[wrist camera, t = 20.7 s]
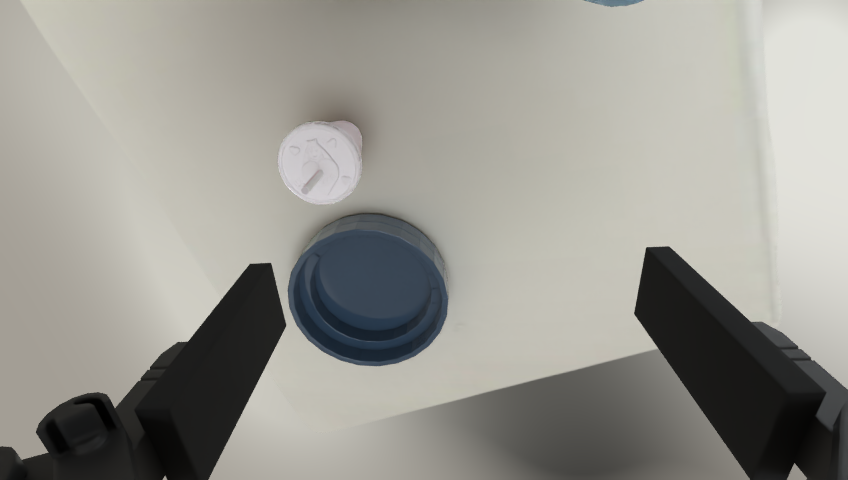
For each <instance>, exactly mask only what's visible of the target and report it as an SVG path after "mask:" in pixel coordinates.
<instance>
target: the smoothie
mask: <svg viewBox="0 0 848 480" xmlns="http://www.w3.org/2000/svg"><path fill="white" fill-rule="evenodd" d="M362 142H363V140H362V135H361V133H360V131H359V129H358V128H357V127H356V126H355V125H354V124H352V123H350V122H348V121H343V120H341V121H334V122H329V123H328V122H323V121H310V122H307V123H304V124H301V125H299V126H297V127H296V128H294V129H293V130H292V131H290V133H289V134H288V135H287V136H286V137H285V138H284V140H283V141H282V143H281V145H280V148H279V152H278V168H279V172H280V175H281V177H282V179H283V181H284V183H285V184H286V186H287V187H288V188H289V189H290V191H292V192H293V193H294V194H295V195H296V196H298V197H299V198H301V199H303V200H305V201H307V202H310V203H313V204H319V205H327V204H333V203H336V202H339V201H341V200H343V199H344V198H346V197H347V196H348V195H349V194H350V193H351V192H352V191H353V189H354V188H355V187H356V186H357V184H358V182H359V180H360V178H361V173H362V167H363V166H362V157H361V149H362Z"/></svg>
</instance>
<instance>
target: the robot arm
mask: <svg viewBox="0 0 848 480" xmlns="http://www.w3.org/2000/svg"><path fill="white" fill-rule="evenodd" d="M584 1H588V2H592V3H596V4H600V5H604V6H610V7H613V6H627V5H631V4H635V3H638V2H641V1H643V0H584ZM634 314H635V316H636V317H637V319H638V320H639V321H640V323H641V324H642V326H643V327H644V328H645V330H646V331H647V333H648V334H649V336H650V337H651V338H652V340H653V341H654V343H655V344H656V346H657V347H658V348H659V350H660V351H661V353H662V354H663V355H664V357H665V358H666V360H667V361H668V363H669V364H670V366H671V367H672V368H673V370H674V371H675V373H676V374H677V375H678V377H679V378H680V380H681V381H682V383H683V384H684V386H685V387H686V388H687V390H688V391H689V393H690V394H691V396H692V397H693V398H694V400H695V401H696V403H697V404H698V406H699V407H700V408H701V410H702V411H703V413H704V414H705V415H706V417H707V418H708V420H709V421H710V423H711V424H712V425H713V427H714V428H715V430H716V431H717V433H718V434H719V435H720V437H721V438H722V440H723V441H724V443H725V444H726V445H727V447H728V448H729V449H730V451H731V452H732V454H733V455H734V457H735V458H736V460H737V461H738V463H739V464H740V465H741V467H742V468H743V470H744V471H745V473H746V474H747V475H748V477H749V478H750V480H787V478H788V476H789V473H790V471H791V469H792V467H793V465H794V463H795V464H796V465H797V466H798V468H799V469H800V470H801V471H802V472H803V474H804V475H805V476H806V477H807V480H848V390H847V389H846V388H845V387H844V386H842V385H841V384H840V383H839V382H838V381H837V380H836V379H834V377H832V376H831V375H830V374H829V373H828V372H827V371H826V370H824V369H823V368H822V367H821V366H820V365H819V364H817V363H816V362H815V361H812V360H811V357H809V356H808V355H807V354H806V353H805V352H804V351H803V350H801V349H798V346H797V345H796V344H795V343H793V342H792V341H791V340H790V339H789V338H788V337H787V336H785V335H784V334H783V333H782V332H780V331H778V330H776V329H774V328H772V327H770V326H769V325H767V324H765V323H763V322H750V321H749V320H748V319H747V318H746V317H745V316H744V315H743V314H742V313H741V312H739V311H738V310H737V309H736V308H735V307H734V306H733V305H732V304H731V303H730V302H729V301H728V300H726V299H725V298H724V297H723V296H722V295H721V294H720V293H719V292H718V291H717V290H716V289H715V288H714V287H712V286H711V285H710V284H709V283H708V282H707V281H706V280H705V279H704V278H703V277H702V276H701V275H699V274H698V273H697V272H696V271H695V270H694V269H693V268H692V267H691V266H690V265H689V264H688V263H686V262H685V261H684V260H683V259H682V258H681V257H680V256H679V255H678V254H677V253H676V252H675V251H673V250H672V249H671V248H670V247H646V252H645V257H644V263H643V268H642V274H641V279H640V285H639V290H638V296H637V301H636V307H635V312H634ZM285 327H286V323H285V319H284V314H283V310H282V306H281V302H280V298H279V294H278V290H277V286H276V281H275V277H274V273H273V269H272V265H271V263H260V264H250V265H249V266H248V267H247V268H246V270H245V271H244V272H243V273H242V275H241V276H240V277H239V278H238V280H237V281H236V282H235V283H234V285H233V286H232V287H231V288H230V290H229V291H228V292H227V293H226V295H225V296H224V297H223V299H222V300H221V301H220V302H219V304H218V305H217V306H216V307H215V309H214V310H213V311H212V312H211V314H210V315H209V316H208V317H207V319H206V320H205V321H204V323H203V324H202V325H201V326H200V327H199V329H198V330H197V331H196V332H195V334H194V335H193V336H192V337H191V339H190V340H189V341H188V342H177V343H176V344H175V345H173V346H172V347H171V348H169V349H168V350H166V351H165V352H163V353H162V354H161V355H160V356H159V357H158V359H157V360H156V361H155V362H154V363H153V364H152V366H151V367H150V370H147V372H146V373H145V374H144V375H143V376H142V377H141V381H138V382H137V383H136V384H135V386H134V387H133V388H132V389H131V390H130V392H129V393H128V394H127V395H126V396H125V397H124V399H123V400H122V401H121V402H120V403H119V404H118V406H117V407H116V408H114V406H113V404H112V402H111V400H110V399H109V397H108V396H107V395H106V394H103V393H99V392H97V393H87V394H84V395H81V396H78V397H75V398H72V399H70V400H68V401H67V402H64V403H62V404H60V405H59V406H58V407H56V408H55V409H53V410H52V411H51V412H49V413H48V414H47V415H46V416H45V417H44V418H43V420H42V421H41V422H40V423H39V425H38V428H37V431H36V433H37V435H38V436H39V438H40V439H41V441H42V443H43V444H44V446H45V447H46V449H47V451H48V452H49V453H45V454H42V455H38V456H34V457H31V458H27V459H23V460H21V459H20V457H19V456H18V454H17V453H16V451H15V450H14V449H13V448H12V447H3V446H2V447H0V480H163V478H164V476H166V478H167V480H208V479H209V477H210V475H211V473H212V471H213V469H214V467H215V465H216V463H217V461H218V459H219V457H220V455H221V453H222V451H223V449H224V447H225V445H226V443H227V442H228V439H229V438H230V436H231V434H232V432H233V430H234V428H235V426H236V424H237V422H238V420H239V418H240V416H241V414H242V412H243V410H244V408H245V406H246V404H247V402H248V400H249V398H250V396H251V394H252V392H253V390H254V388H255V386H256V384H257V382H258V380H259V378H260V376H261V374H262V373H263V371H264V369H265V367H266V365H267V363H268V361H269V359H270V357H271V355H272V353H273V351H274V349H275V347H276V345H277V343H278V341H279V339H280V337H281V335H282V333H283V331H284V329H285Z"/></svg>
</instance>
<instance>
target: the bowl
mask: <svg viewBox="0 0 848 480" xmlns="http://www.w3.org/2000/svg"><path fill="white" fill-rule="evenodd" d="M288 298H289V307H290V310H291V313H292V315H293V318H294V320H295V322H296V325H297V326H298V327H299V329H300V330H301V331H302V333H303V334H304V335H305V337H306V338H307V339H308V340H309V341H310V342H311V343H313V344H314V345H315V346H316V347H318V348H319V349H320V350H321V351H323V352H325V353H327V354H329V355H331V356H333V357H335V358H337V359H339V360H341V361H345V362H348V363H352V364H356V365H365V366H383V365H389V364H395V363H399V362H402V361H404V360H406V359H409V358H411V357H414V356H416V355H417V354H418V353H420V352H421V351H423V350H424V349H425V348H427V347H428V346H429V345H430V344H431V343H432V342H433V340H434V339H435V338H436V337H437V335H438V334H439V333H440V331H441V329H442V326H443V324H444V321H445V319H446V316H447V307H448V284H447V275H446V270H445V266H444V262H443V260H442V258H441V256H440V254H439V253H438V251H437V249H436V247H435V246H434V244H433V243H432V242H431V241H430V240H429V239H428V238H427V237H426V236H425V235H424V234H423V233H422V232H420V231H419V230H418V229H416V228H414V227H412V226H411V225H409V224H407V223H406V222H404V221H401V220H398V219H395V218H391V217H388V216H385V215H375V214H359V215H354V216H349V217H344V218H341V219H339V220H337V221H335V222H333V223H331V224H329V225H327V226H325V227H324V228H323V229H322V230H321V231H320V232H318V233H317V234H316V235H315V236H314V237H313V238H312V239H311V240H310V242H309V244H308V245H307V247H306V248H305V250H304V252H303V253H302V255H301V256H300V258H299V260H298V261H297V263H296V265H295V267H294V268H293V270H292V272H291V276H290V281H289V285H288Z"/></svg>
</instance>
